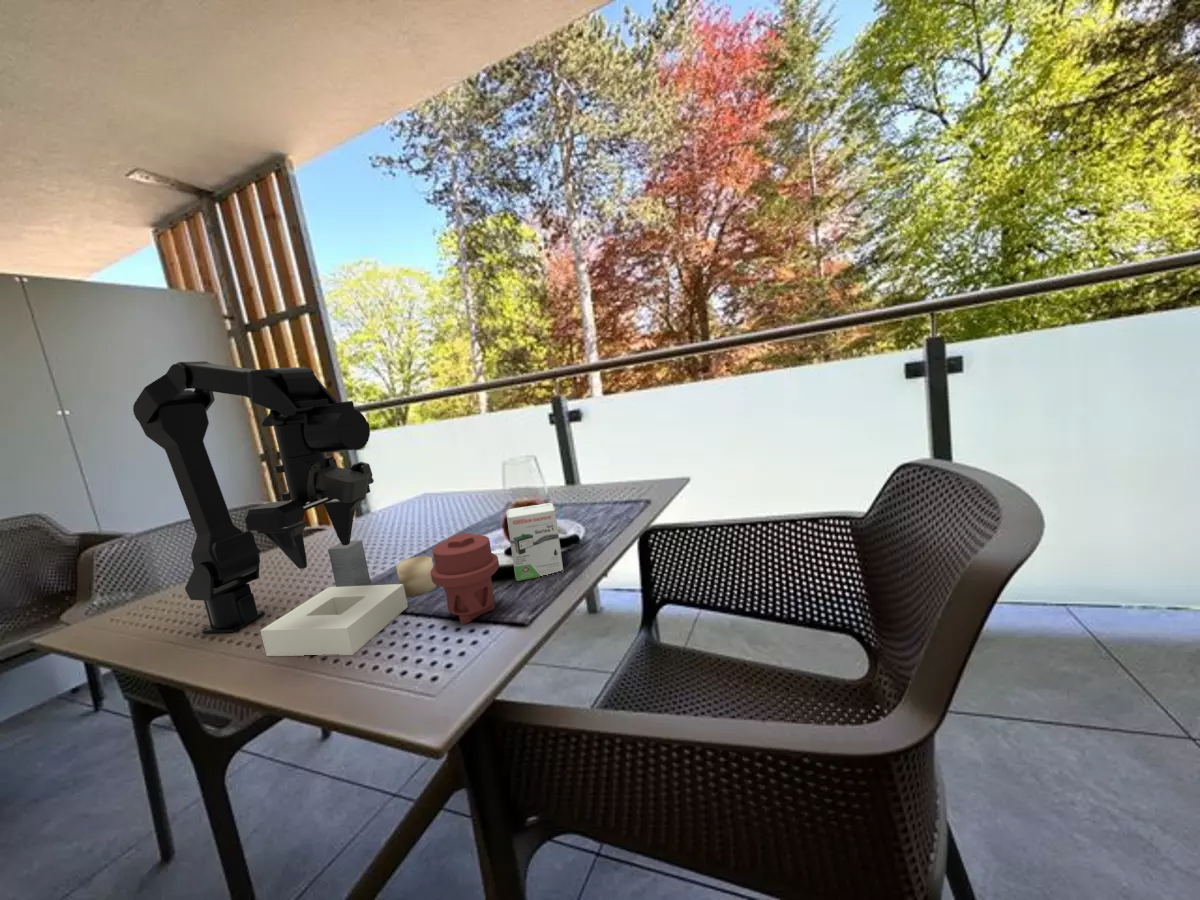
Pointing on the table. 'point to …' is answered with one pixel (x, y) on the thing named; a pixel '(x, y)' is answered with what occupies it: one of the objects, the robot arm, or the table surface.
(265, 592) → the table surface
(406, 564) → the beige rounded lump
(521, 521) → the ink box
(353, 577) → the square bar
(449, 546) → the mechanical component
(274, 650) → the socket block
